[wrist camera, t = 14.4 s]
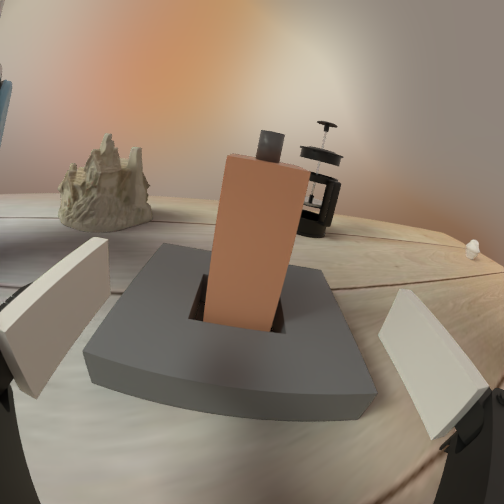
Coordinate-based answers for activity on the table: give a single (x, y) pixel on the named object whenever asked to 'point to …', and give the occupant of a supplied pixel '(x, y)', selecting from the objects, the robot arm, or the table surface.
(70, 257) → the robot arm
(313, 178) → the french press
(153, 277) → the socket
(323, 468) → the table surface
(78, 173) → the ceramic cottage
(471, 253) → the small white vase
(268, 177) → the plug
